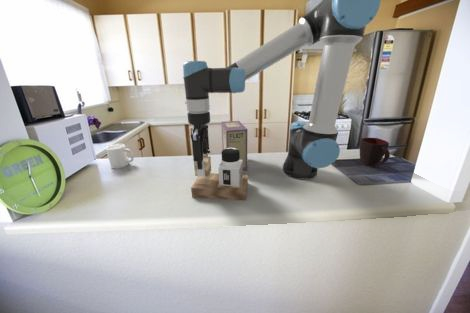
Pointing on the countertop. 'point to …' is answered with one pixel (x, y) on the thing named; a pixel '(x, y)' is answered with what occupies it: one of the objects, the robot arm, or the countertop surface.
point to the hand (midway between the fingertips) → (203, 172)
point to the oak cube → (206, 163)
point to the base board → (218, 188)
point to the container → (230, 168)
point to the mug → (373, 151)
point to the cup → (118, 155)
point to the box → (235, 138)
